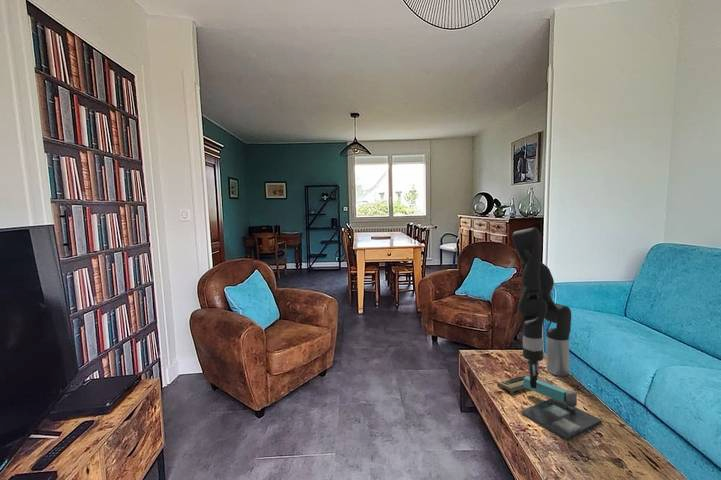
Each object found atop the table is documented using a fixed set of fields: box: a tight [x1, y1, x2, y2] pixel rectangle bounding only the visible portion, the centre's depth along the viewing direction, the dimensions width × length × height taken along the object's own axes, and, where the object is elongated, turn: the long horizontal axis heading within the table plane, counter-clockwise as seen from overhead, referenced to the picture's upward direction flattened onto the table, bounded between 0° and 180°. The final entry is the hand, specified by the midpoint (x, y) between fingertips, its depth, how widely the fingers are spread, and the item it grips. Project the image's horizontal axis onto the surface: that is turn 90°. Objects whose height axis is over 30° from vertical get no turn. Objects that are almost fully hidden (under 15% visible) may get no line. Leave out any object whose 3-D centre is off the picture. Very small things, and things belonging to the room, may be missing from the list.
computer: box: [496, 374, 528, 395], centre depth 151 cm, size 16×8×3 cm, turn 113°
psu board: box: [520, 398, 603, 442], centre depth 126 cm, size 20×18×3 cm
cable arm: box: [524, 375, 578, 407], centre depth 137 cm, size 20×4×4 cm, turn 37°
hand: (533, 387), depth 139 cm, fingers closed
